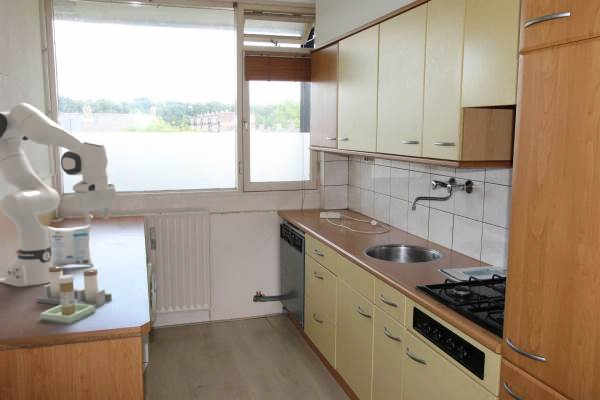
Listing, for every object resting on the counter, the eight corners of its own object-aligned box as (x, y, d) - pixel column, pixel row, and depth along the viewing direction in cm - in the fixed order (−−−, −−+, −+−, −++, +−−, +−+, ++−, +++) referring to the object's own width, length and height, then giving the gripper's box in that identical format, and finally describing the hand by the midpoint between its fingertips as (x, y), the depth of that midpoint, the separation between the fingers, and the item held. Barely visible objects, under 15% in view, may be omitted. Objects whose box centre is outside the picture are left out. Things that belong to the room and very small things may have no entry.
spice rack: (37, 301, 197) (36, 288, 196) (58, 293, 207) (57, 280, 206) (92, 308, 189) (91, 295, 188) (111, 299, 198) (111, 287, 198)
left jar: (47, 299, 199) (45, 268, 197) (57, 296, 203) (55, 265, 202) (57, 301, 197) (55, 269, 196) (67, 297, 202) (65, 266, 200)
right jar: (82, 304, 194) (80, 272, 192) (91, 300, 198) (89, 268, 196) (92, 305, 192) (91, 273, 190) (101, 301, 196) (100, 269, 195)
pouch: (92, 268, 243) (89, 225, 240) (47, 271, 239) (44, 227, 236) (95, 264, 251) (92, 222, 248) (51, 266, 247) (48, 224, 244)
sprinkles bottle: (71, 311, 184) (69, 273, 182) (78, 314, 181) (75, 275, 179) (58, 314, 180) (56, 276, 179) (65, 317, 178) (62, 278, 176)
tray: (41, 320, 178) (40, 313, 177) (67, 308, 189) (67, 302, 188) (69, 324, 174) (69, 317, 173) (94, 312, 185) (94, 305, 185)
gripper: (107, 181, 211) (108, 216, 212) (69, 187, 191) (71, 224, 193) (120, 182, 208) (121, 216, 210) (83, 187, 189) (85, 225, 191)
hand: (97, 220), depth 202 cm, fingers open, 8 cm apart
